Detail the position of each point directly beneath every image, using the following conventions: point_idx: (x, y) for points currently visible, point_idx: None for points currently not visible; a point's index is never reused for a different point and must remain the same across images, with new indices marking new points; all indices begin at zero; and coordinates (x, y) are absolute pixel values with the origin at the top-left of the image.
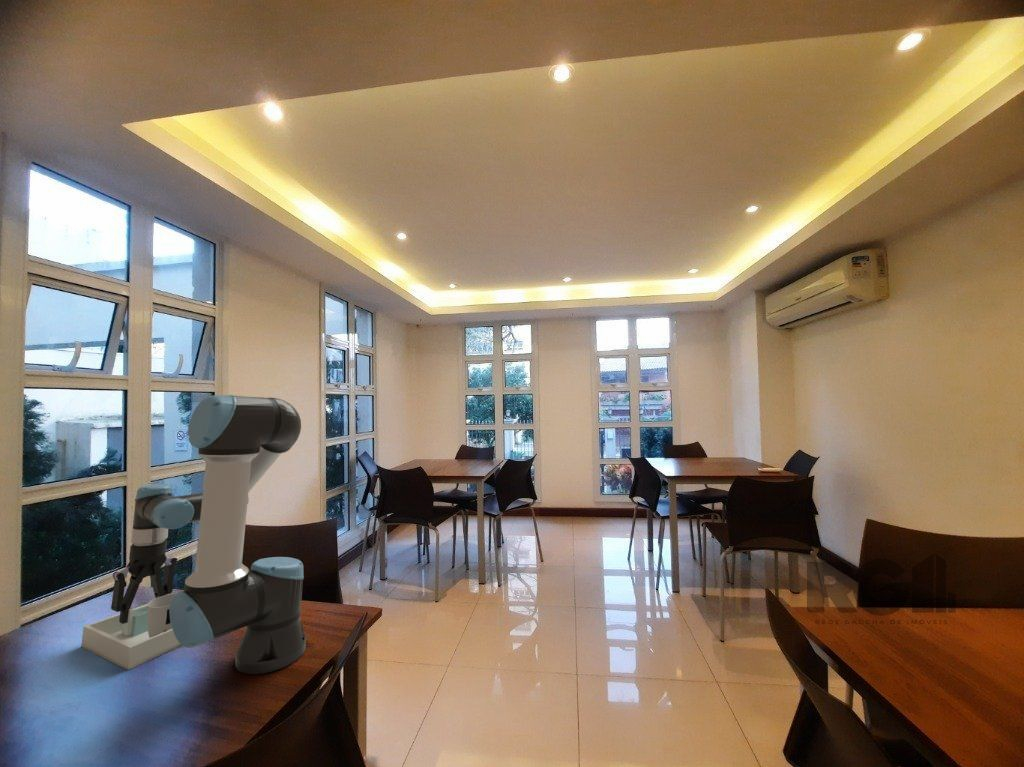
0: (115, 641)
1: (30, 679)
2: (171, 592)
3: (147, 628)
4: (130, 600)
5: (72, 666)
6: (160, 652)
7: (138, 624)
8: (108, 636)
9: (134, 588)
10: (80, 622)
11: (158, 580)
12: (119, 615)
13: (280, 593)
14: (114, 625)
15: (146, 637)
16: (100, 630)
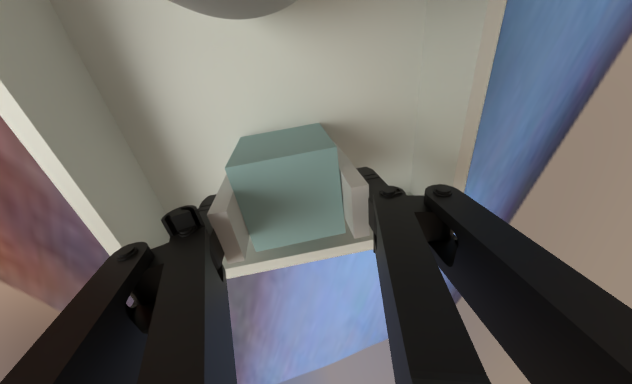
0: None
1: (560, 91)
2: (122, 248)
3: (274, 134)
4: (399, 225)
5: None
6: None
7: (313, 137)
8: (496, 18)
9: (439, 311)
10: (356, 319)
11: (171, 380)
12: (352, 242)
13: None
14: None
15: (292, 64)
16: (460, 142)
